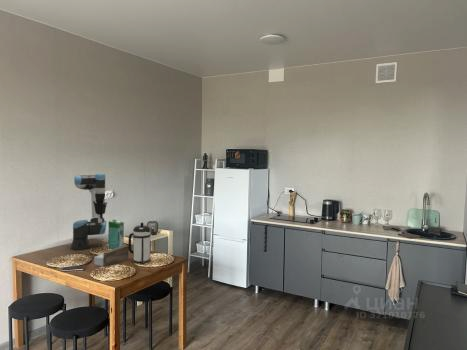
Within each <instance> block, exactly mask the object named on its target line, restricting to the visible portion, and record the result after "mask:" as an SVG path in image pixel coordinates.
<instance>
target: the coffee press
mask: <svg viewBox="0 0 467 350" xmlns="http://www.w3.org/2000/svg"><path fill="white" fill-rule="evenodd" d="M132 231H133V232H131V233H130V234H129V236H128V252H129V253H131V254H132V256H133V258H132V259H131V263H132V264H133V263H134V262H140V263H141V262H142V263H143V264H144V262H147V261H149V260H151V259H152V257H151V228H150V226H148V225H146V224H145V225H144V222H140V225H136V226H135V227H133V229H132ZM132 241H133V244H132Z"/></svg>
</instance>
